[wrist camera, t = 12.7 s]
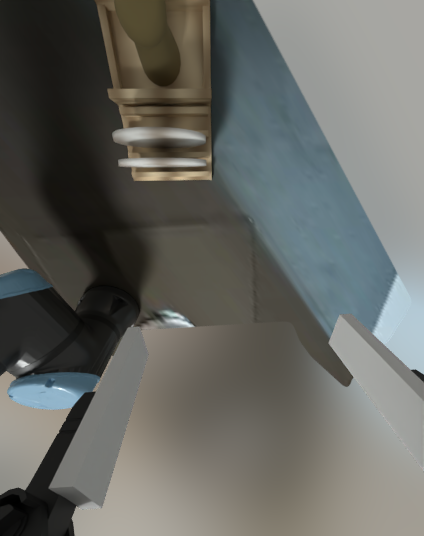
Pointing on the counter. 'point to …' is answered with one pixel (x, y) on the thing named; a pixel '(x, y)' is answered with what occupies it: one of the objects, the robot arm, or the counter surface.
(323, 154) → the counter surface
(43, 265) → the counter surface
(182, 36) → the rack
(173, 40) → the cork
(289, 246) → the counter surface
